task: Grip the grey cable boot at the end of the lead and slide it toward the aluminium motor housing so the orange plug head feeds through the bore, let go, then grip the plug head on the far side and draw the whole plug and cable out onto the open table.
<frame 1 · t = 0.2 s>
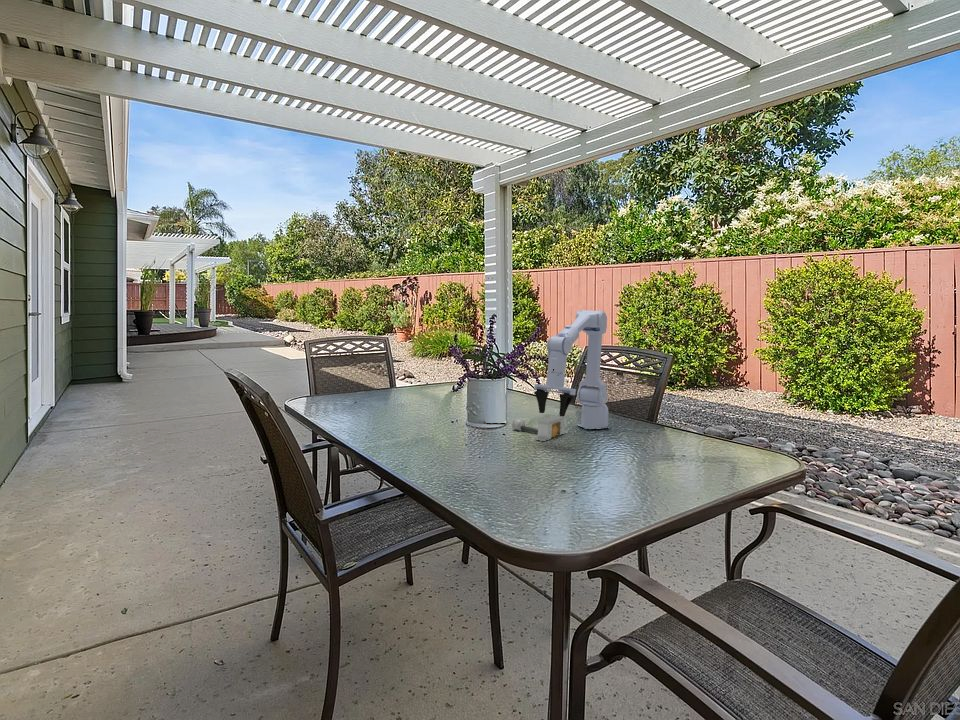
hand: (551, 414, 179), 10 cm above the table, tool pointing down, fingers open, 7 cm apart
plug: (549, 436, 192), on the table
housing: (550, 436, 192), on the table
supplement box: (495, 423, 211), on the table
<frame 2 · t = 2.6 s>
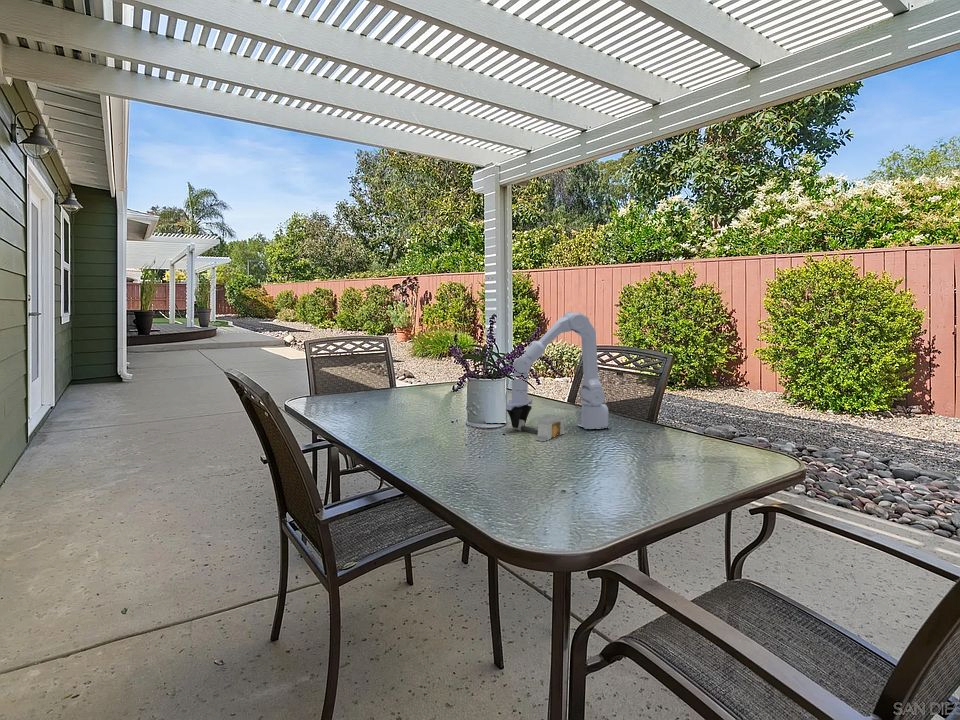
hand: (518, 426, 200), 1 cm above the table, tool pointing down, fingers closed on plug, 4 cm apart
plug: (549, 436, 192), on the table, touching gripper
everything else where it was.
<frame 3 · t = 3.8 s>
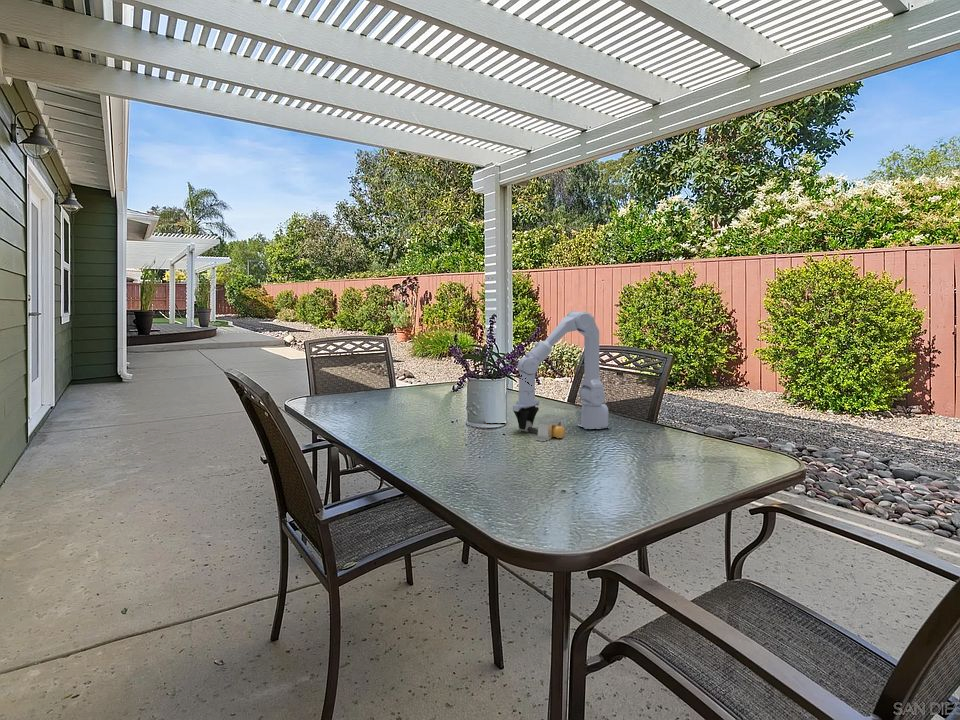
hand: (525, 427, 198), 1 cm above the table, tool pointing down, fingers closed on plug, 4 cm apart
plug: (556, 437, 191), on the table, touching gripper
everything else where it was.
when the fingers open (1 cm above the table, at t = 5.1 s): plug stays where it is, on the table.
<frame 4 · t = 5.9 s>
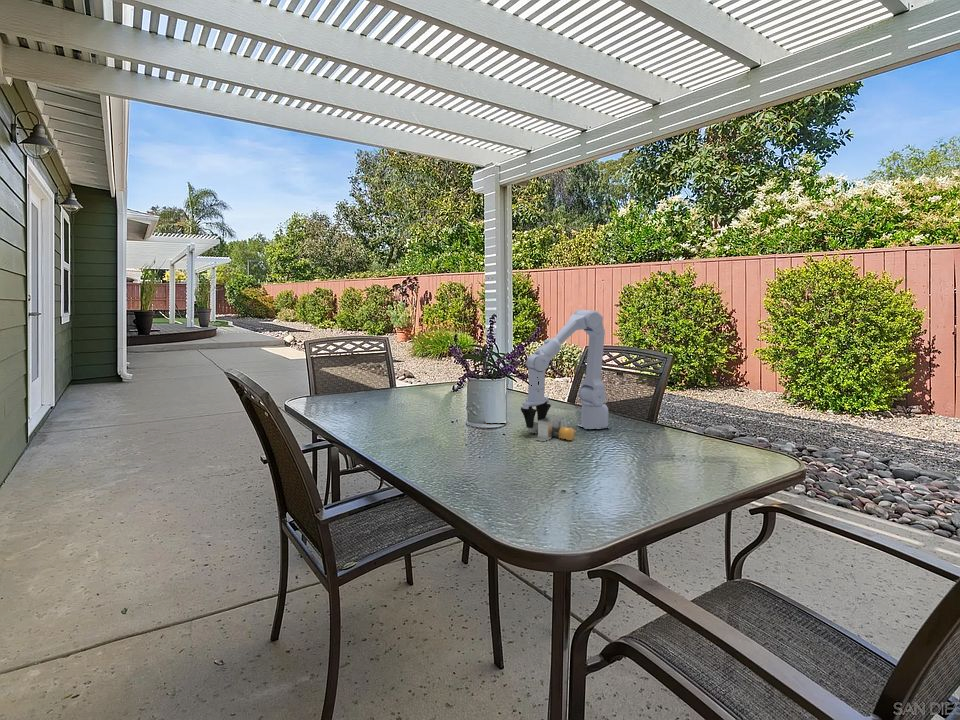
hand: (535, 425, 196), 3 cm above the table, tool pointing down, fingers open, 7 cm apart
plug: (566, 439, 188), on the table
everything else where it was.
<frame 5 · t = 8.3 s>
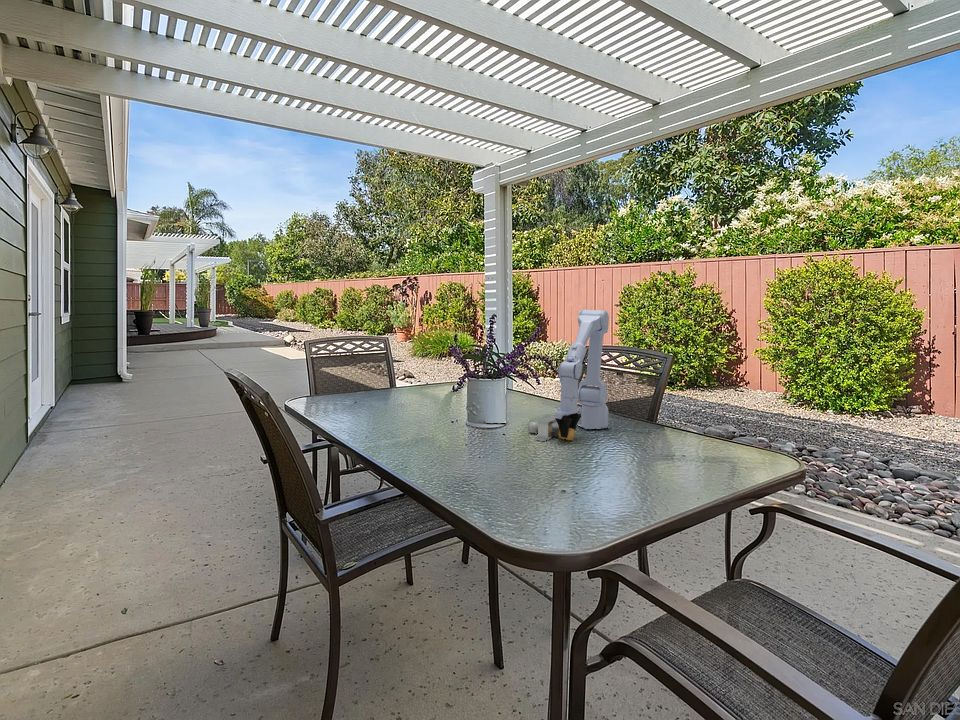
hand: (567, 435, 188), 1 cm above the table, tool pointing down, fingers closed on plug, 4 cm apart
plug: (566, 439, 188), on the table, touching gripper
everything else where it was.
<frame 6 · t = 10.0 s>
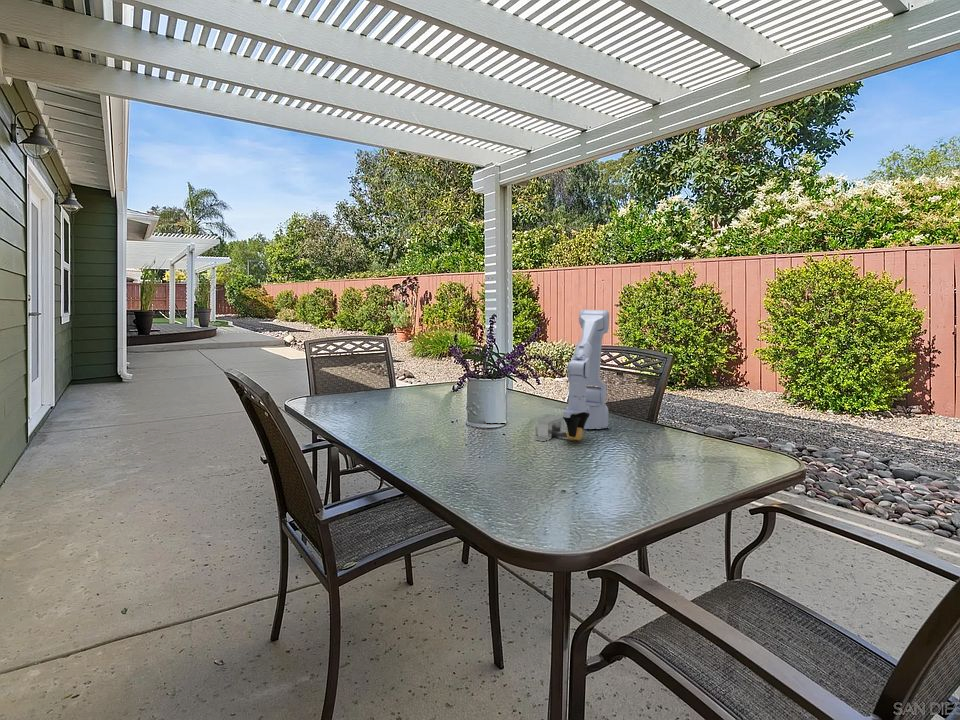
hand: (575, 435, 186), 2 cm above the table, tool pointing down, fingers closed on plug, 4 cm apart
plug: (574, 439, 186), point 1 cm above the table, touching gripper
everything else where it was.
when the fingers open (2 cm above the table, at t = 11.9 s): plug stays where it is, on the table.
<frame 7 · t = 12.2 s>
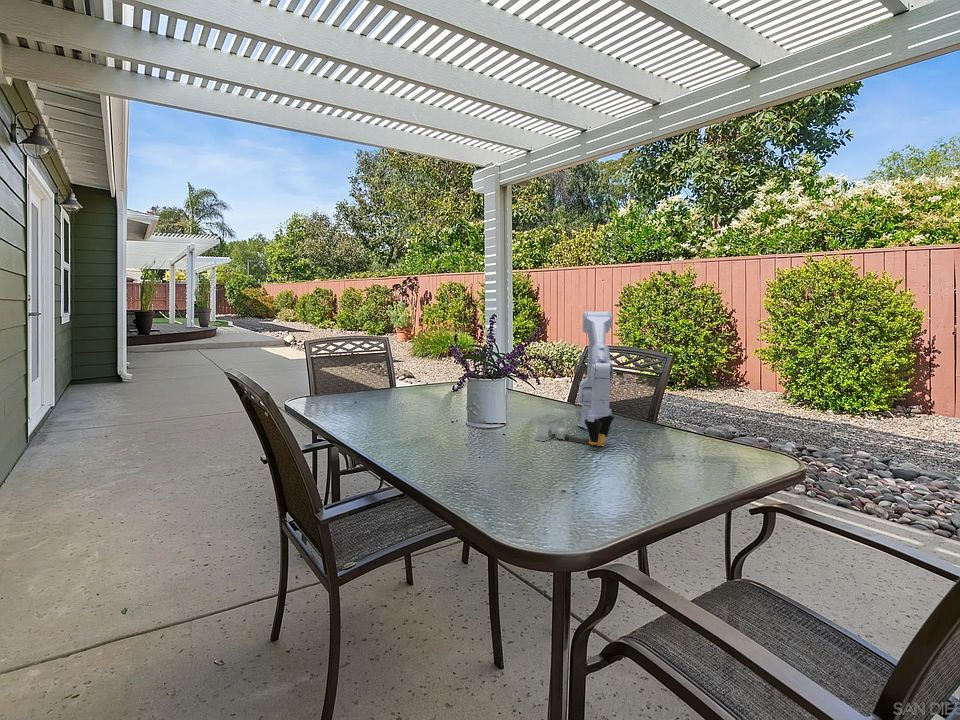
hand: (598, 439, 181), 2 cm above the table, tool pointing down, fingers open, 7 cm apart
plug: (597, 445, 181), on the table, tilted 5°
everything else where it was.
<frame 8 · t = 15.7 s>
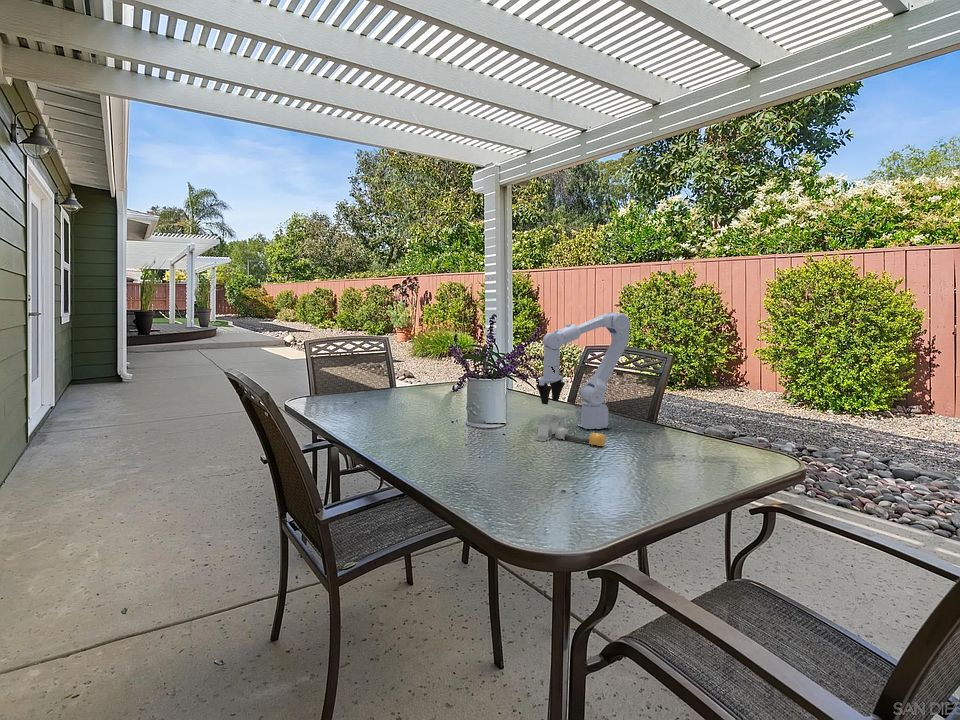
hand: (550, 402, 202), 10 cm above the table, tool pointing down, fingers open, 7 cm apart
nothing on the table moved.
at the end: plug inside the target area (0.4 cm from its centre), on the table; plug touching table; the gripper is holding nothing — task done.
